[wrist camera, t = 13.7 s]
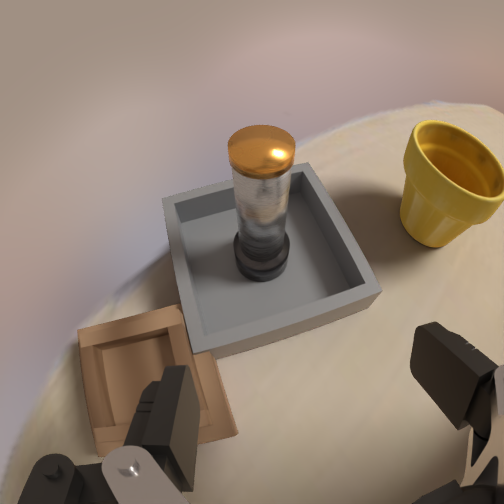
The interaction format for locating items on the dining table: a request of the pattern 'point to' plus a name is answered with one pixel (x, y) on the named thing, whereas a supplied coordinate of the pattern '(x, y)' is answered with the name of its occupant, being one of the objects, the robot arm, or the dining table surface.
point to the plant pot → (448, 183)
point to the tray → (272, 292)
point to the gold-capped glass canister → (261, 199)
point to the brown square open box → (145, 374)
